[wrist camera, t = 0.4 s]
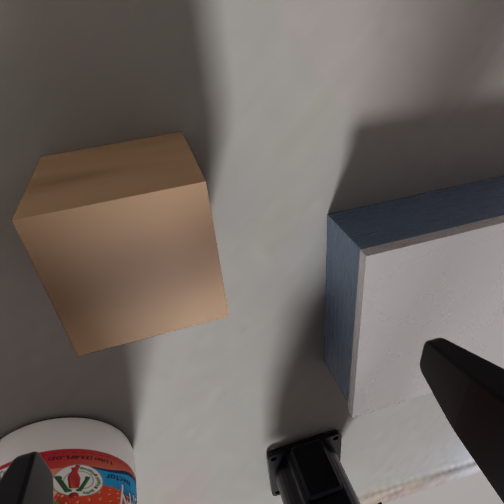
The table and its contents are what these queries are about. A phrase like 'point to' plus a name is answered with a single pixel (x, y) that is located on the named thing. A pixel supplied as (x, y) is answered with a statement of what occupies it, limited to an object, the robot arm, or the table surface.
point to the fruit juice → (78, 459)
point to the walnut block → (123, 241)
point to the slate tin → (412, 288)
